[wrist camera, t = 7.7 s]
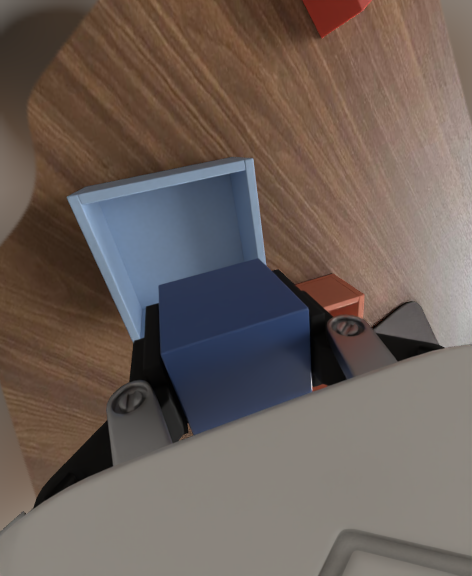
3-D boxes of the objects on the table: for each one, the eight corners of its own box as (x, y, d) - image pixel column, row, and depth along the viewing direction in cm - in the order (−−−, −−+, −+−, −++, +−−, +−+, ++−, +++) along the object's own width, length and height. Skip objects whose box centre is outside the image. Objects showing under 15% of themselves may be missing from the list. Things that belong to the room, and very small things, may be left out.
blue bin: (137, 313, 25) (134, 347, 21) (84, 186, 19) (65, 196, 15) (252, 281, 27) (271, 305, 22) (232, 156, 21) (253, 157, 17)
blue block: (185, 363, 13) (198, 448, 9) (157, 284, 11) (159, 354, 7) (269, 335, 14) (313, 405, 10) (258, 257, 12) (309, 307, 8)
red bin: (249, 379, 33) (264, 414, 28) (234, 302, 27) (249, 330, 23) (332, 351, 34) (358, 379, 30) (333, 273, 29) (365, 294, 25)
